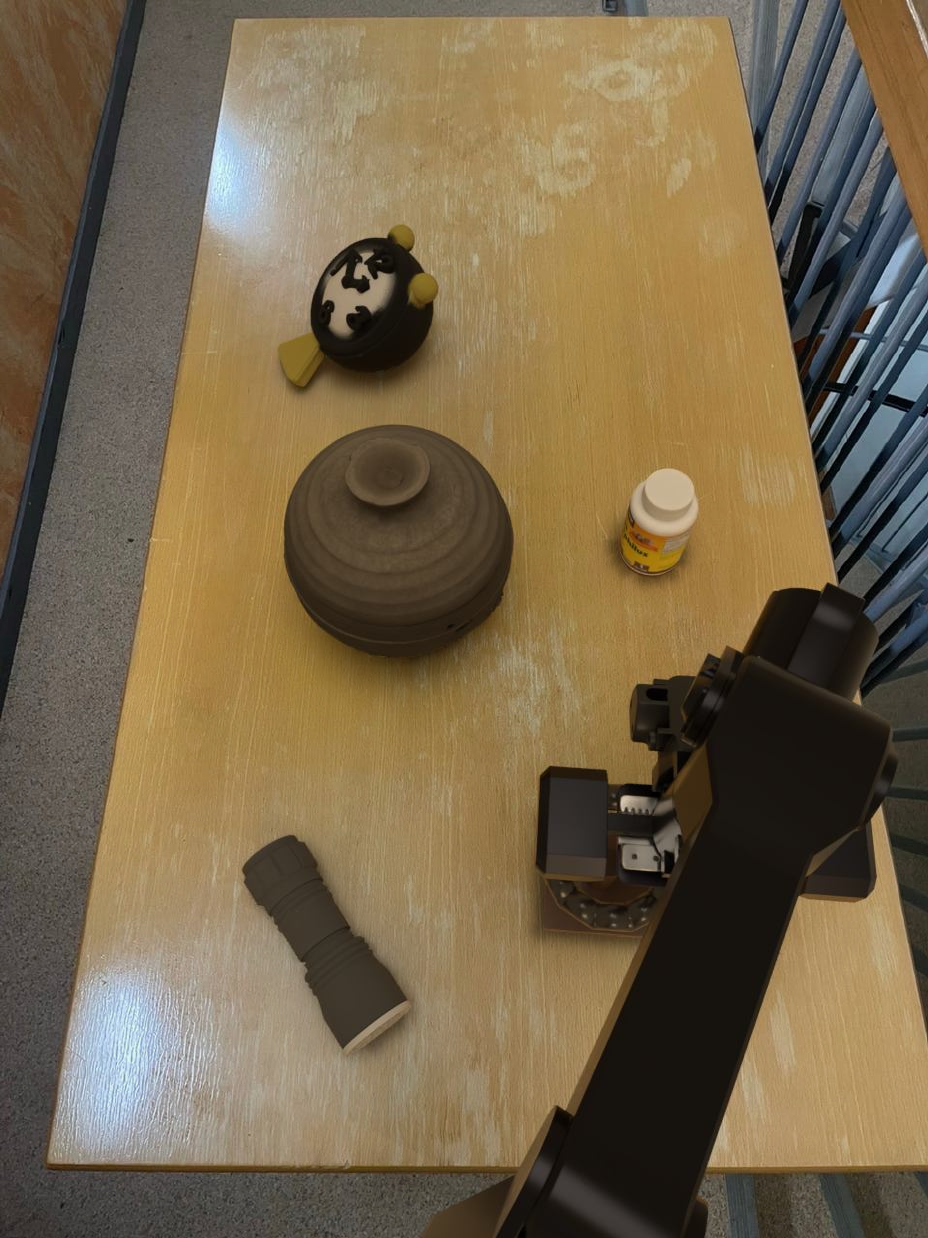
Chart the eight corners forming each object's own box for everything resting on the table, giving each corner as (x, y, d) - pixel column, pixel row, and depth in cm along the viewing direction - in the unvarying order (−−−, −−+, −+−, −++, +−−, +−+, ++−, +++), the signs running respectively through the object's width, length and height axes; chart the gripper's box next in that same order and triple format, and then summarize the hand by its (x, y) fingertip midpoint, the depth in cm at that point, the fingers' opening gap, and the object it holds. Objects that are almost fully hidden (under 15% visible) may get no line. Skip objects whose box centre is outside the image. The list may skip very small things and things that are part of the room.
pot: (294, 512, 84) (266, 370, 66) (489, 504, 85) (514, 363, 67) (297, 699, 77) (266, 597, 58) (509, 686, 78) (544, 582, 60)
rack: (650, 939, 68) (668, 927, 61) (542, 930, 69) (548, 917, 62) (650, 831, 72) (667, 809, 65) (547, 823, 72) (553, 800, 65)
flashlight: (243, 878, 71) (225, 865, 66) (303, 836, 72) (289, 820, 67) (352, 1056, 65) (341, 1057, 60) (414, 1007, 67) (408, 1004, 62)
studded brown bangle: (687, 937, 59) (690, 934, 57) (538, 927, 60) (536, 924, 59) (684, 790, 63) (686, 784, 61) (544, 784, 64) (543, 777, 63)
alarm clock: (320, 336, 98) (333, 191, 88) (443, 383, 96) (471, 239, 86) (261, 377, 90) (267, 222, 80) (394, 430, 87) (418, 276, 77)
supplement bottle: (607, 537, 83) (622, 472, 73) (662, 515, 84) (683, 449, 74) (635, 587, 80) (654, 528, 71) (692, 565, 81) (718, 503, 72)
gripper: (900, 666, 49) (808, 750, 63) (550, 643, 50) (537, 731, 64) (927, 880, 44) (821, 919, 59) (540, 850, 45) (528, 896, 60)
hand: (673, 859), depth 60 cm, fingers closed on studded brown bangle, 2 cm apart
